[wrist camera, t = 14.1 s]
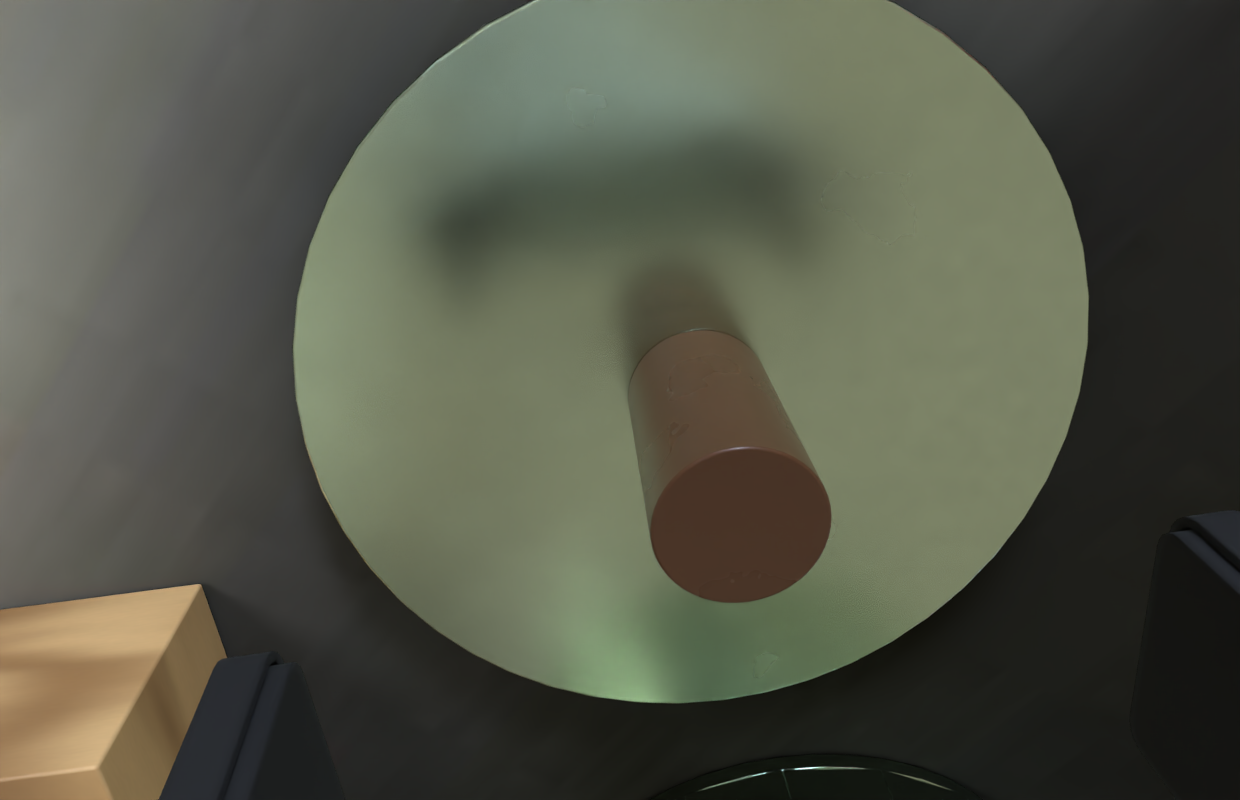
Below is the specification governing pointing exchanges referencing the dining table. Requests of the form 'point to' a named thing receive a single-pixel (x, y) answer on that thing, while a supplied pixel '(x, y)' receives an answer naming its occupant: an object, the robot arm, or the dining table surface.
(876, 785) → the pot
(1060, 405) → the lid
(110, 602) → the block
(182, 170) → the dining table surface
